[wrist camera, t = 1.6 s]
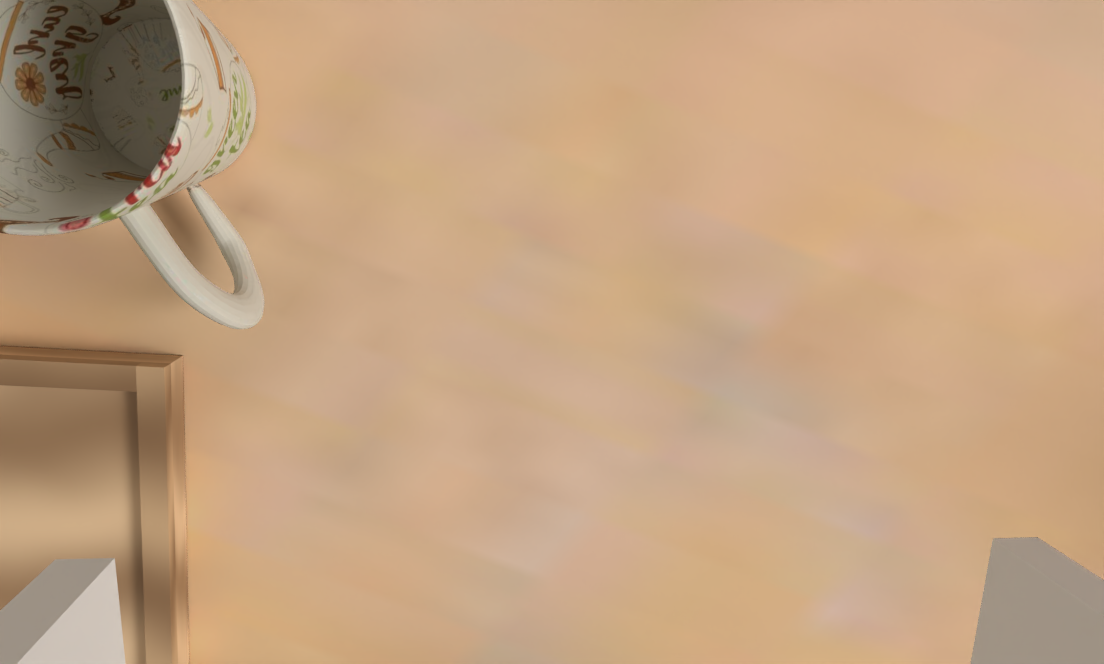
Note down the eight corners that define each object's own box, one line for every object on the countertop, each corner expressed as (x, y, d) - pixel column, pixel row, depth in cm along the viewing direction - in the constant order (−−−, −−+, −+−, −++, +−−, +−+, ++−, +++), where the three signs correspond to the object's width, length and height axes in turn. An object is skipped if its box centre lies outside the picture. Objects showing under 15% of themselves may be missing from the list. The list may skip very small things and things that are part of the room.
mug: (204, -66, 26) (41, -211, 16) (391, 243, 29) (349, 280, 19) (1, 48, 26) (-282, -25, 16) (209, 345, 29) (75, 434, 19)
